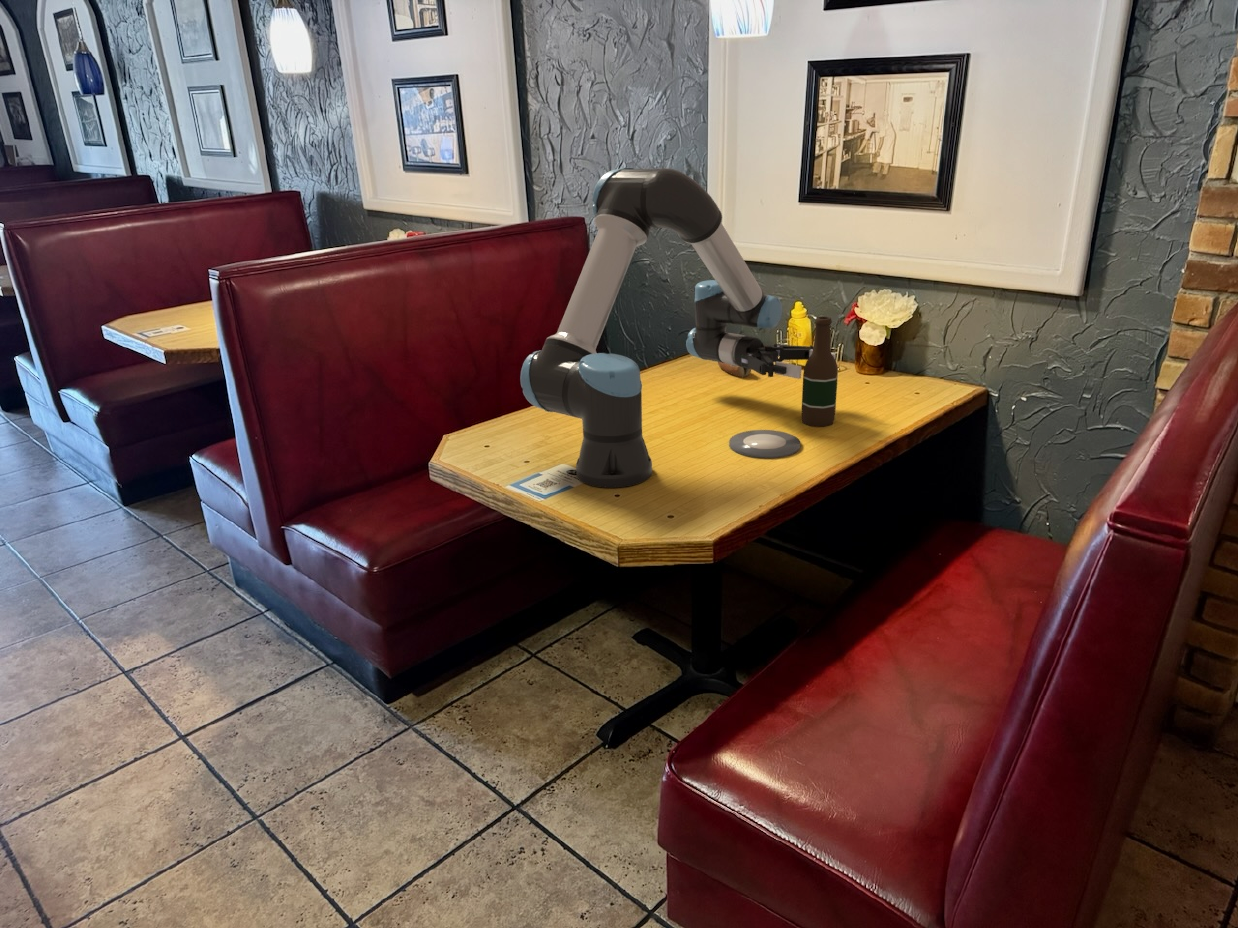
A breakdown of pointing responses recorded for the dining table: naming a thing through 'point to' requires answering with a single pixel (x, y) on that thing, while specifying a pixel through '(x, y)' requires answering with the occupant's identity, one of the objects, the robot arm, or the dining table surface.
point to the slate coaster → (764, 444)
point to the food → (735, 369)
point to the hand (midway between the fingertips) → (817, 366)
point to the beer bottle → (820, 379)
